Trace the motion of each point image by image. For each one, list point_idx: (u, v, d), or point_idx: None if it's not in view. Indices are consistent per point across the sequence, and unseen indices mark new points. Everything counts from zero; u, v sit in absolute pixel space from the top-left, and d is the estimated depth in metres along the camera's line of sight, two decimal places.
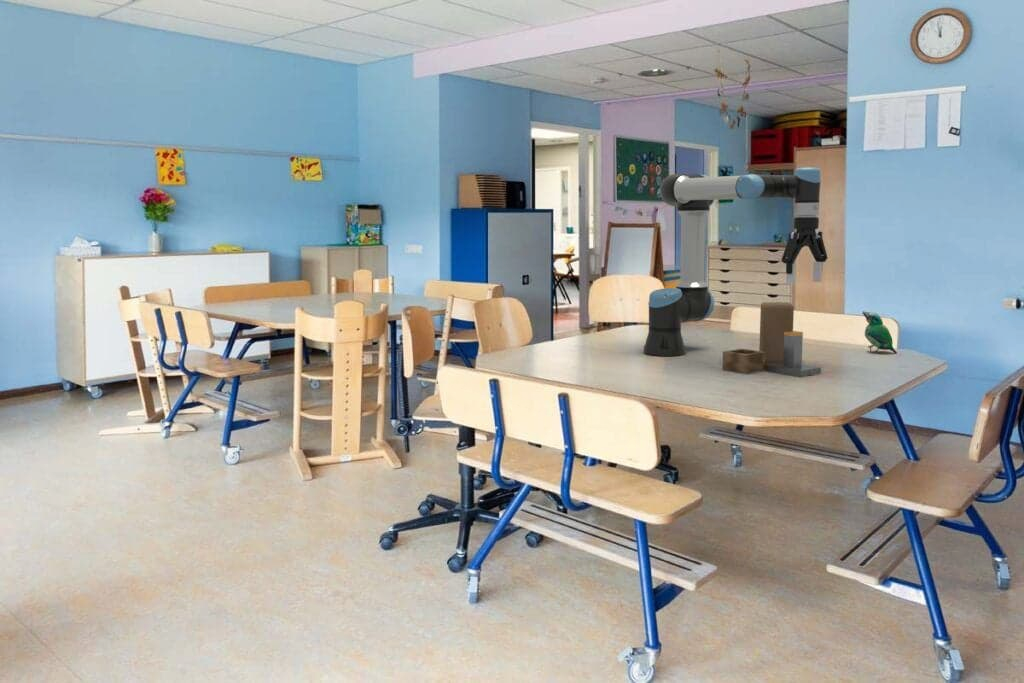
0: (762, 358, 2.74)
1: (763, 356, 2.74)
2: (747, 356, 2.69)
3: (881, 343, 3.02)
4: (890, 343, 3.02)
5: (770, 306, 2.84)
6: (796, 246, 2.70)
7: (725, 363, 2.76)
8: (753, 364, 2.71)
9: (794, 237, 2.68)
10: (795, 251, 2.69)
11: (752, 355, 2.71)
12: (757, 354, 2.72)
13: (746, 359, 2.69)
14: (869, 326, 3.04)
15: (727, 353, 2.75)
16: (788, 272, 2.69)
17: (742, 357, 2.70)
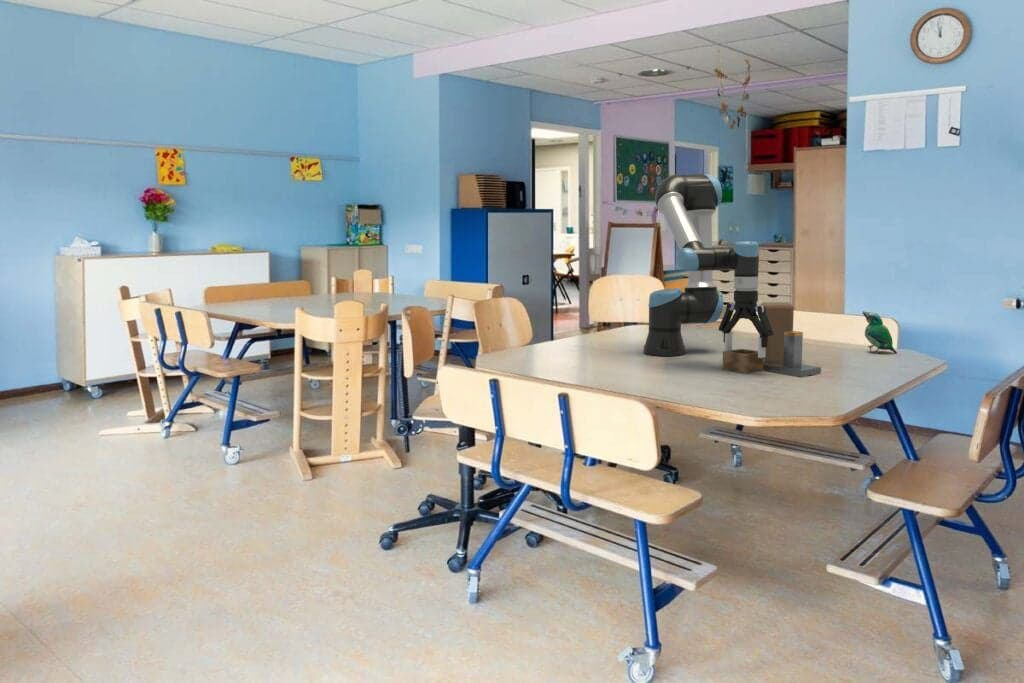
0: (762, 358, 2.74)
1: None
2: (747, 356, 2.69)
3: (881, 343, 3.02)
4: (890, 343, 3.02)
5: (770, 306, 2.84)
6: None
7: (725, 363, 2.76)
8: (753, 364, 2.71)
9: None
10: None
11: (752, 355, 2.71)
12: (757, 354, 2.72)
13: (746, 359, 2.69)
14: (869, 326, 3.04)
15: (727, 353, 2.75)
16: None
17: (742, 357, 2.70)
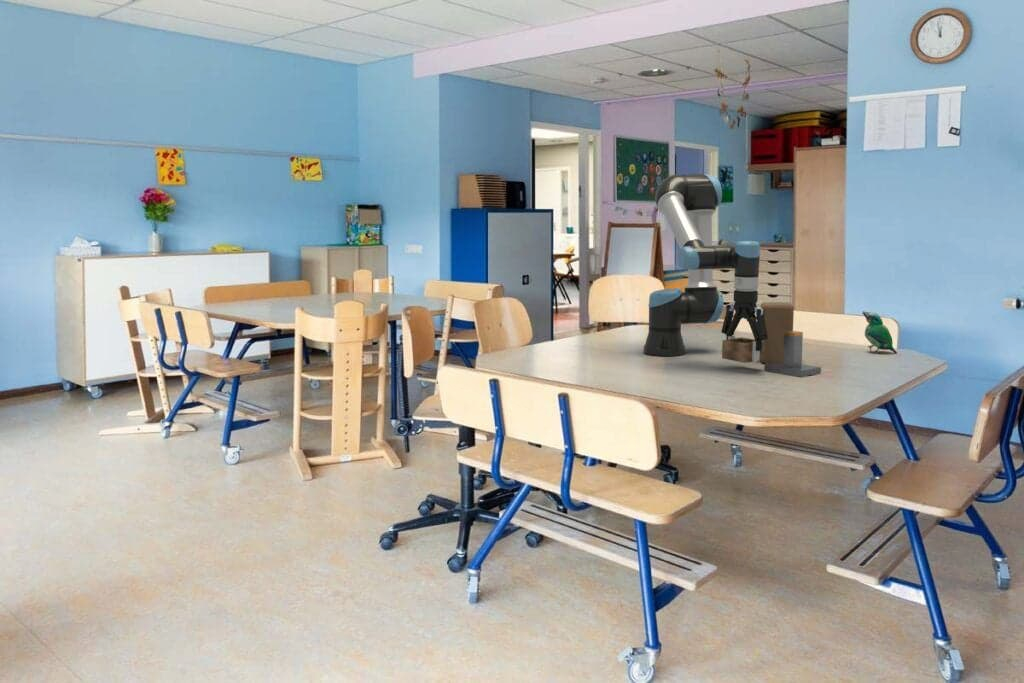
0: (762, 347, 2.74)
1: (763, 345, 2.74)
2: (747, 345, 2.69)
3: (881, 343, 3.02)
4: (890, 343, 3.02)
5: (770, 306, 2.84)
6: None
7: (725, 352, 2.76)
8: None
9: None
10: None
11: (752, 344, 2.71)
12: None
13: (746, 348, 2.69)
14: (869, 326, 3.04)
15: (727, 342, 2.75)
16: None
17: (742, 346, 2.70)
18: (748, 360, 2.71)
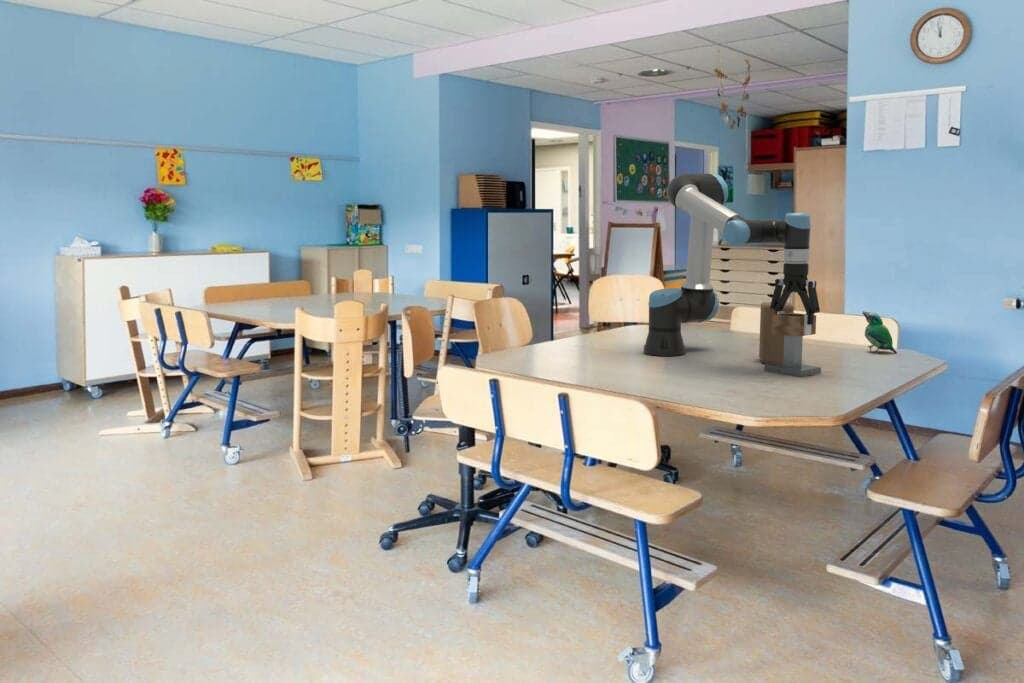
0: (813, 321, 2.67)
1: (814, 319, 2.67)
2: (798, 319, 2.63)
3: (881, 343, 3.02)
4: (890, 343, 3.02)
5: None
6: None
7: (774, 327, 2.70)
8: None
9: None
10: None
11: (803, 318, 2.64)
12: None
13: (797, 322, 2.63)
14: (869, 326, 3.04)
15: (777, 316, 2.68)
16: None
17: (793, 319, 2.63)
18: (800, 334, 2.64)
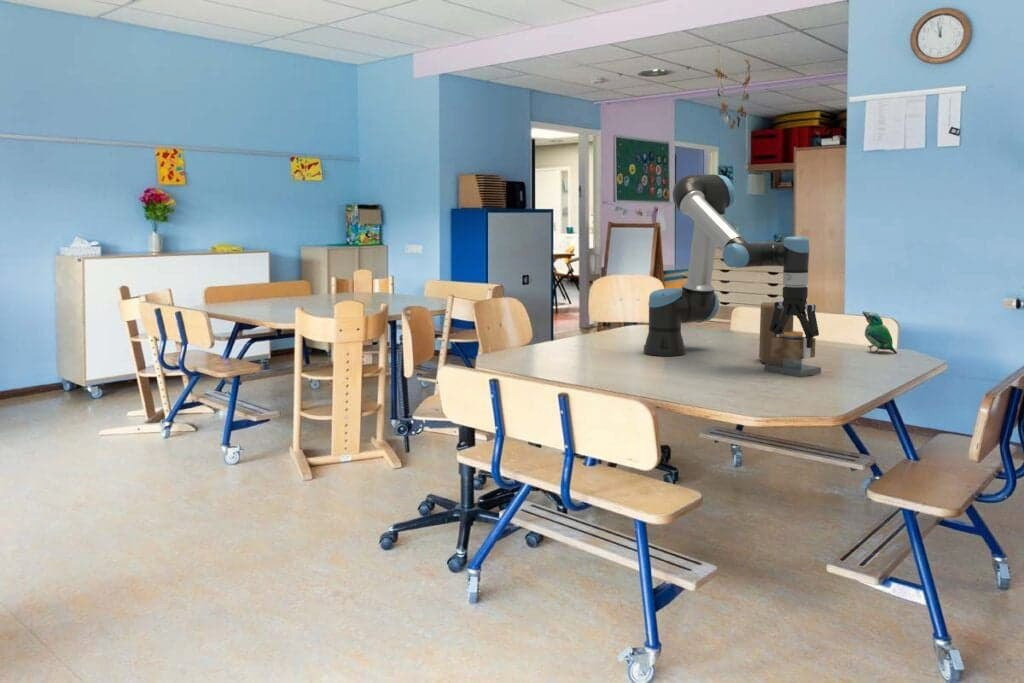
0: None
1: (813, 342, 2.68)
2: (797, 342, 2.64)
3: (881, 343, 3.02)
4: (890, 343, 3.02)
5: (770, 306, 2.84)
6: None
7: (774, 350, 2.71)
8: None
9: None
10: None
11: (802, 341, 2.65)
12: None
13: (796, 345, 2.64)
14: (869, 326, 3.04)
15: (776, 339, 2.70)
16: None
17: (792, 343, 2.65)
18: (799, 357, 2.65)
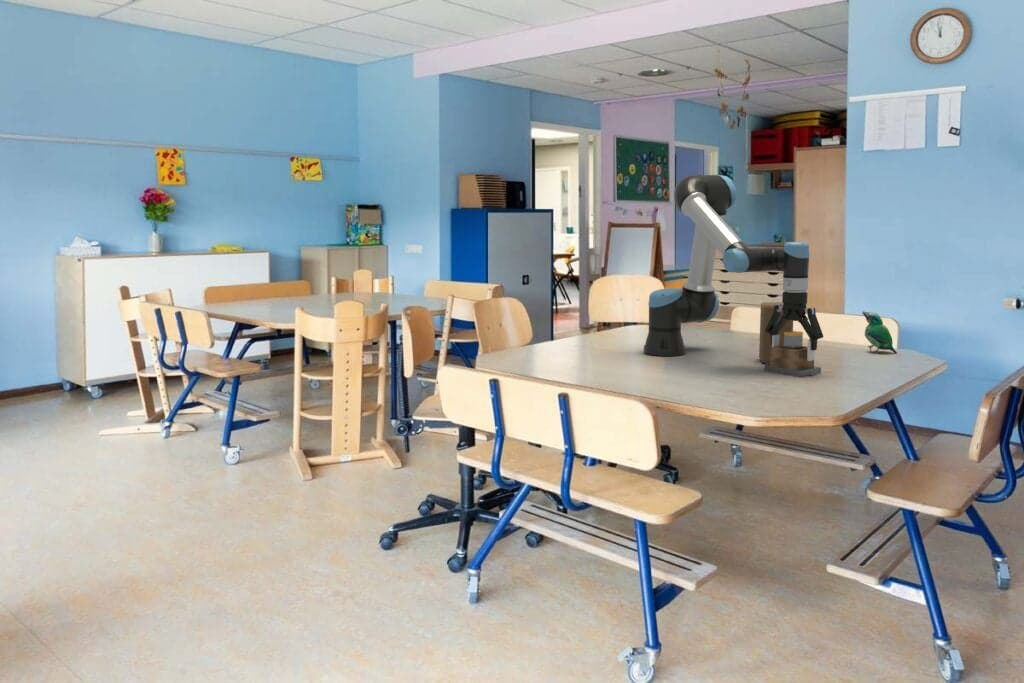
0: None
1: None
2: (797, 352, 2.64)
3: (881, 343, 3.02)
4: (890, 343, 3.02)
5: (770, 306, 2.84)
6: None
7: (773, 359, 2.71)
8: (802, 360, 2.66)
9: None
10: None
11: (802, 351, 2.66)
12: (806, 350, 2.67)
13: (796, 355, 2.64)
14: (869, 326, 3.04)
15: (775, 349, 2.70)
16: None
17: (792, 352, 2.65)
18: (798, 367, 2.66)
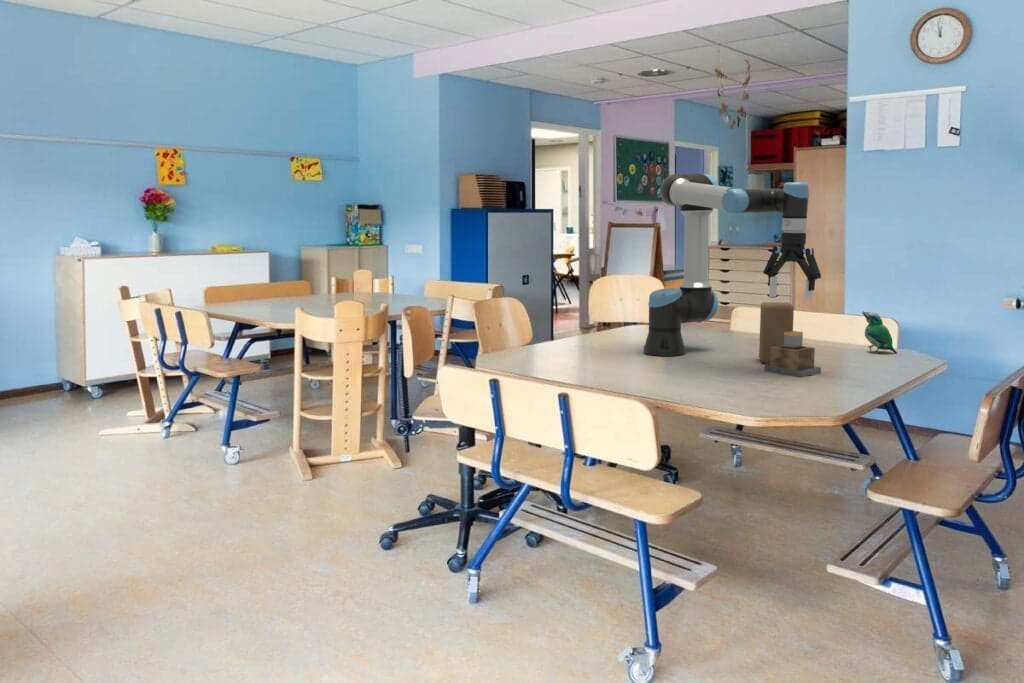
0: (812, 353, 2.69)
1: (812, 352, 2.69)
2: (797, 352, 2.64)
3: (881, 343, 3.02)
4: (890, 343, 3.02)
5: (770, 306, 2.84)
6: None
7: (773, 359, 2.71)
8: (802, 360, 2.66)
9: None
10: None
11: (802, 351, 2.66)
12: (806, 350, 2.67)
13: (796, 355, 2.64)
14: (869, 326, 3.04)
15: (775, 349, 2.70)
16: None
17: (792, 352, 2.65)
18: (798, 367, 2.66)
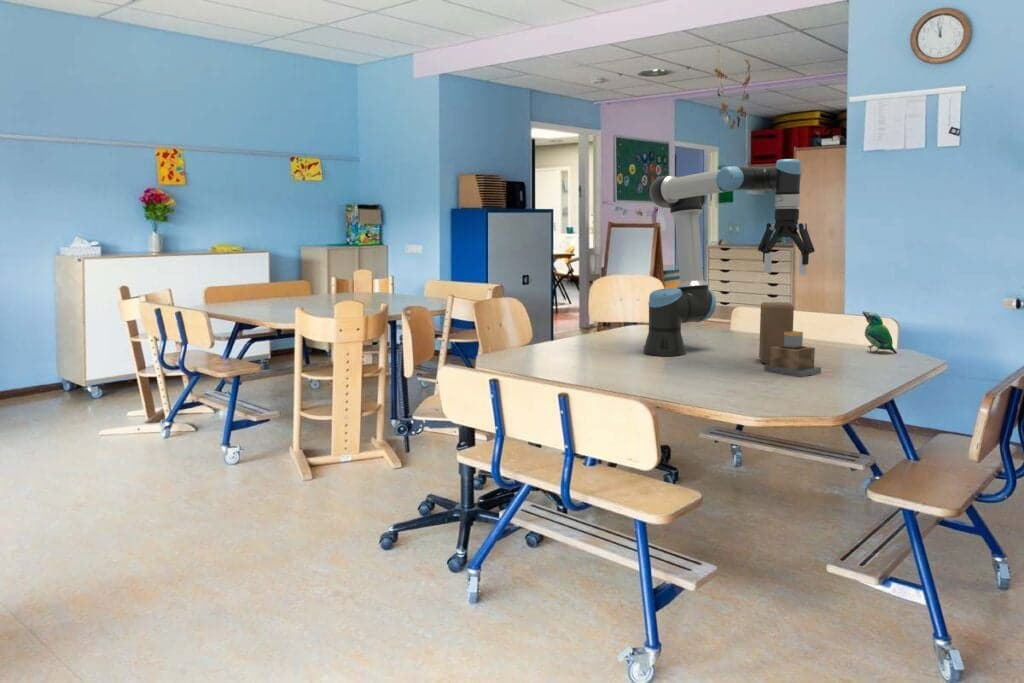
0: (812, 353, 2.69)
1: (812, 352, 2.69)
2: (797, 352, 2.64)
3: (881, 343, 3.02)
4: (890, 343, 3.02)
5: (770, 306, 2.84)
6: None
7: (773, 359, 2.71)
8: (802, 360, 2.66)
9: None
10: None
11: (802, 351, 2.66)
12: (806, 350, 2.67)
13: (796, 355, 2.64)
14: (869, 326, 3.04)
15: (775, 349, 2.70)
16: None
17: (792, 352, 2.65)
18: (798, 367, 2.66)
